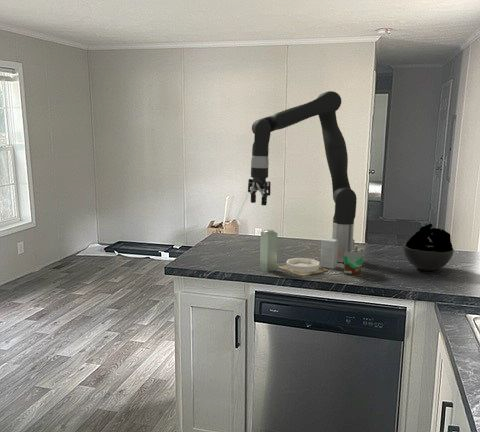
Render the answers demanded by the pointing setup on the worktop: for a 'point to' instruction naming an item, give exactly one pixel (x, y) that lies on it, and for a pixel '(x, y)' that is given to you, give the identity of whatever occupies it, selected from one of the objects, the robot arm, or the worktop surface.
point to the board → (302, 273)
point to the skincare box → (329, 253)
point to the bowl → (302, 265)
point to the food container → (353, 261)
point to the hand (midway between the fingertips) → (258, 204)
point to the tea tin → (268, 250)
